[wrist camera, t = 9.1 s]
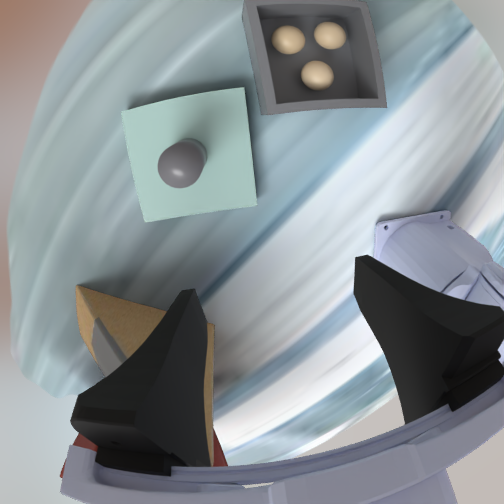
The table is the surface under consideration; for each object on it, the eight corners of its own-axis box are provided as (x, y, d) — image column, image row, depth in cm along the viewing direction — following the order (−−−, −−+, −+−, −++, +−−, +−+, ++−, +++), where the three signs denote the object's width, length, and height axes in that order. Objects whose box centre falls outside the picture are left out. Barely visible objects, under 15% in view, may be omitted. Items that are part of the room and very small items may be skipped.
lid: (243, 88, 16) (247, 81, 12) (255, 200, 21) (262, 225, 16) (127, 111, 16) (99, 113, 12) (149, 216, 21) (130, 244, 16)
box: (346, 14, 13) (366, 1, 10) (363, 106, 17) (387, 107, 14) (241, 16, 13) (244, -1, 10) (261, 114, 17) (268, 115, 14)
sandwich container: (74, 280, 23) (6, 400, 10) (216, 321, 26) (215, 467, 13) (79, 335, 27) (38, 439, 14) (198, 368, 30) (193, 485, 17)
